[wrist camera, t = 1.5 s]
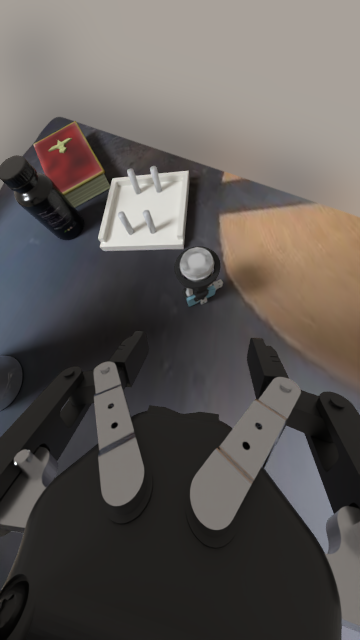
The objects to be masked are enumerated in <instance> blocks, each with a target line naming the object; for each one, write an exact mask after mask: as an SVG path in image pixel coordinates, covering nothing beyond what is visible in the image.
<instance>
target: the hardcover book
mask: <svg viewBox="0 0 360 640" xmlns="http://www.w3.org/2000/svg"><path fill="white" fill-rule="evenodd" d="M34 147H35V150H36V152H37V155H38V157H39V160H40V163H41V165H42V168H43V170H44V173H45V175H46V176H48V177H49V178H50V179H51V180H52V181H53V182H54V184H55V185H56V186H57V187H58V188H59V190H60V191H61V192H62V193H63V194H64V196H65V197H66V198H67V199H68V200H69V202H70V203H71V204H72V205H73V206H74V208H75V207H77V206H78V205H80V204H82V203H84V202H86V201H87V200H89V199H91V198H93V197H95V196H96V195H98V194H100V193H102V192H104V191H106V190H107V189H109V188H110V185H109V183H108V181H107V179H106V177H105V175H104V173H105V171H104V169H103V167H102V166H101V164H100V162H99V161H98V159H97V157H96V155H95V154H94V152H93V150H92V148H91V147H90V145H89V143H88V142H87V140H86V138H85V136H84V135H83V133H82V131H81V129H80V128H79V126H78V124H77V123H76V121H74V122H73V123H71V124H69V125H67V126H65V127H64V128H62V129H60V130H58V131H56V132H55V133H53V134H51V135H49V136H47V137H46V138H44V139H42V140H40V141H38V142H36V143H35V144H34Z"/></svg>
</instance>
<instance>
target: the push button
mask: <svg viewBox="0 0 360 640" xmlns="http://www.w3.org/2000/svg"><path fill="white" fill-rule="evenodd" d="M213 268H214V272H213V274H212V270H213ZM174 270H175V274H176V277H177V279H178V280H179V281H180V282H181V284H182V285H184V286H185V287H186V288H185V289H183V290H182V292H183V295H184V297H185V299H186V301H187V303H188V305H189V307H190V306H193V305H194V304H196V303H198V302H201V305H202V304H204V303H206V302H207V298H209V297H211V296H213V295H214V294H215V291H216V290H217V289H218V288H220V287H222V286H223V285H222V284H223V282H222V280H218V281H216V282H214V281H215V280H216V278H217V276H218V275H219V272H220V260H219V258H218V256H217V254H216V253H215V252H214V251H212V250H211V249H209V248H206V247H192V248H189V249H187V250H185V251H183V252H182V253H181V254H180V255H179V256H178V258H177V260H176V262H175V266H174ZM181 272H182V274H183V275H184V278H183V276H182V275H181ZM218 282H219V283H218ZM219 285H220V286H219ZM203 302H204V303H203Z"/></svg>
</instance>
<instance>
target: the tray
mask: <svg viewBox="0 0 360 640" xmlns="http://www.w3.org/2000/svg"><path fill="white" fill-rule="evenodd" d="M150 171H151V175H141V176H135V173H134V171H133V169H128V170H127V173H128V176H129V177H121V178H112V182H111V186H110V190H109V195H108V199H107V203H106V207H105V211H104V215H103V220H102V224H101V228H100V232H99V236H98V239H99V241H100V242H101V245H100V248H101V249H102V250H103V251H121V250H159V249H184V239H185V228H186V216H187V205H188V194H189V171H181V172H171V173H161V174H158V172H157V168H156V166H152V167H151V168H150Z"/></svg>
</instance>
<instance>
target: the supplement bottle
mask: <svg viewBox="0 0 360 640" xmlns="http://www.w3.org/2000/svg"><path fill="white" fill-rule="evenodd" d="M0 179H1V180H2V181H3V182H4V183H5V184H6V185H7V186H8V187H9V188H10V189H11V190H13V191H14V195H15V198H16V200H17V202H18V203H19V204H20V205H21V206H22V207H23V208H24V209H25V210H26V211H28V212H29V213H30V214H31V215H32V216H33V217H35V218H36V219H37V220H38V221H39V222H40V223H42V224H43V225H44V226H45V227H46V228H47V229H49V230H50V231H51V232H52V233H53V234H54V235H56V236H57V237H58V238H60V239H63V240H69V239H73V238H75V237H76V236H78V235H79V234H80V233H81V231H82V229H83V226H84V220H83V218H82V216H81V215H80V214H79V212H78V211H77V210H76V209H75V208H74V206H73V205H72V204H71V203H70V202H69V200H68V199H67V198H66V197H65V196H64V194H63V193H62V192H61V191H60V190H59V188H58V187H57V186H56V185H55V184H54V182H53V181H52V180H51V179H50V178H49V177H48V176H46V175H44V174H42V173H37V172H36V170H35V169H34V168H33V166H31V165H30V164H29V163H28V162H27V160H26V159H25V158H24V157H22V156H13V157H10V158H8V159H6V160H5V161H4V162H3V163H2V164H1V165H0Z"/></svg>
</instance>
